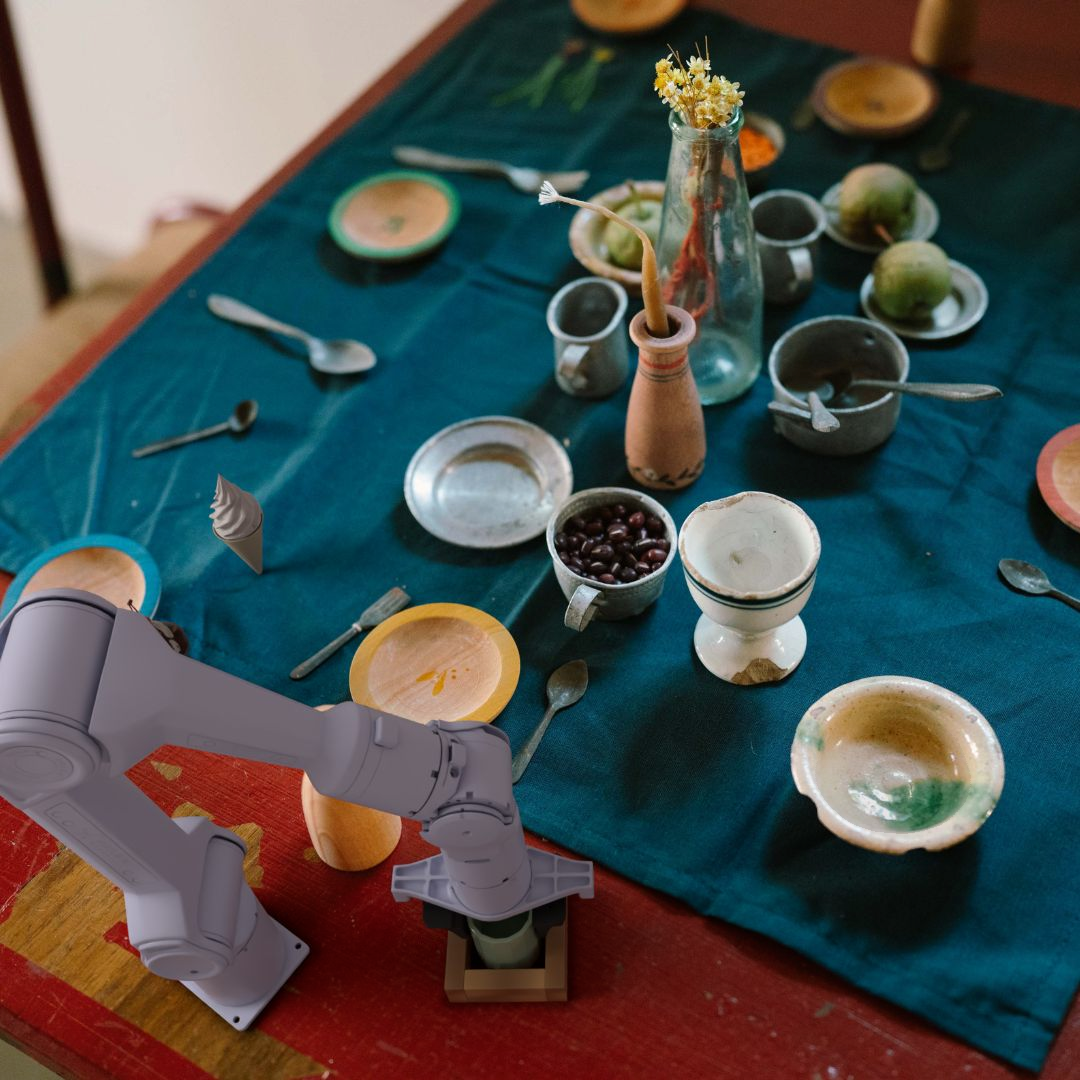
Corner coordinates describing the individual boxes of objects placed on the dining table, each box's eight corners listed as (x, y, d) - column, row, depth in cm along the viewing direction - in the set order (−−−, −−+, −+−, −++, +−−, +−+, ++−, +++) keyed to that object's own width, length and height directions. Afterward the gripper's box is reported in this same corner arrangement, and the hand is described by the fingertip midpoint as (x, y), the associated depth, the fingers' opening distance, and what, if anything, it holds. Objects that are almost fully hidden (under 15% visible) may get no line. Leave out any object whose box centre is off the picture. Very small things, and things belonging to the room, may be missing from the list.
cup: (464, 952, 93) (451, 918, 88) (503, 899, 96) (494, 863, 91) (515, 989, 91) (506, 957, 86) (555, 934, 94) (548, 899, 88)
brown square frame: (449, 1002, 91) (444, 989, 89) (457, 889, 97) (451, 874, 95) (567, 1001, 90) (564, 988, 88) (567, 887, 96) (565, 872, 94)
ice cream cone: (274, 594, 119) (232, 496, 107) (228, 588, 120) (182, 490, 108) (290, 556, 122) (252, 456, 110) (246, 551, 123) (202, 452, 111)
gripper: (588, 794, 82) (597, 874, 93) (386, 799, 83) (417, 878, 94) (590, 889, 78) (599, 963, 88) (376, 893, 79) (409, 966, 89)
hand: (505, 925), depth 91 cm, fingers closed on cup, 5 cm apart
